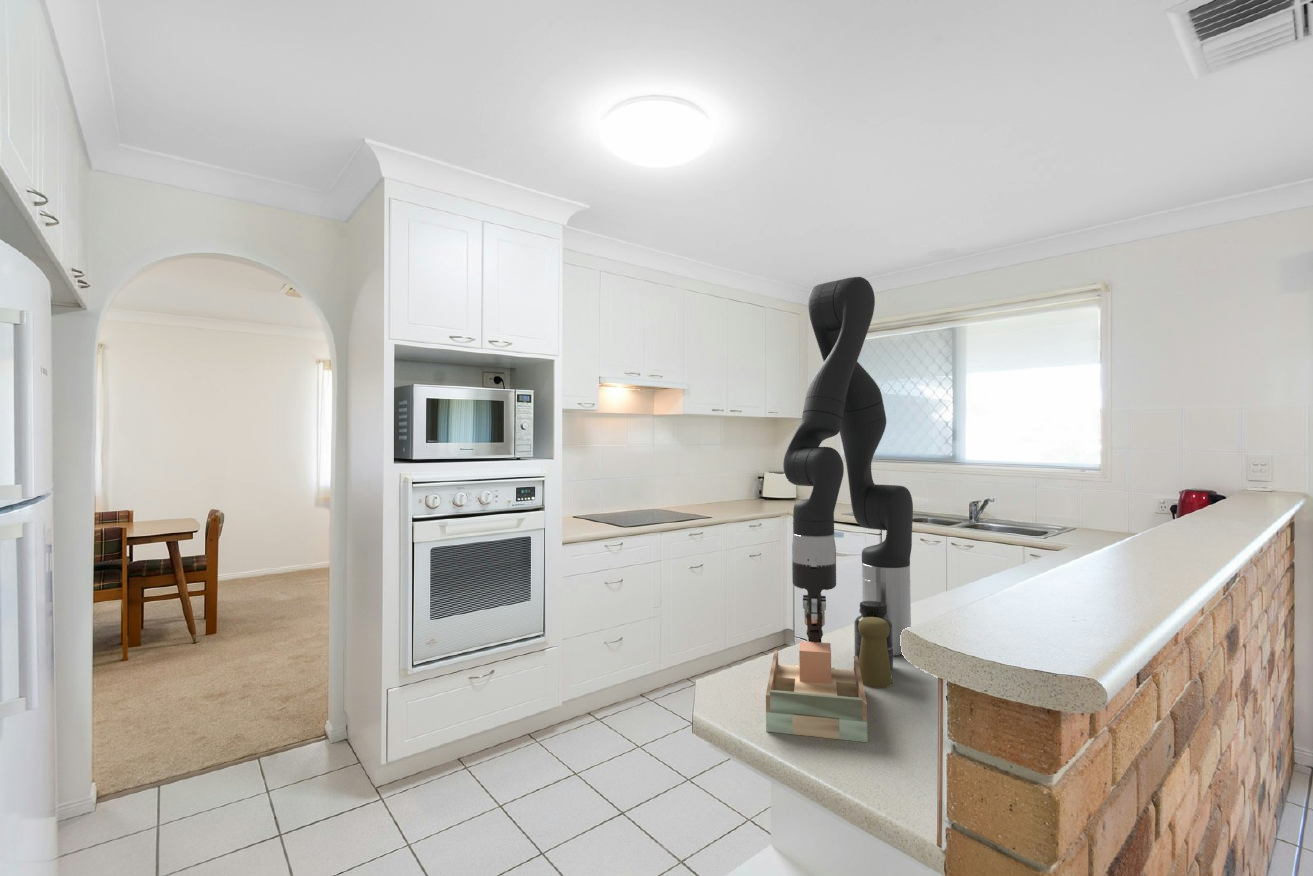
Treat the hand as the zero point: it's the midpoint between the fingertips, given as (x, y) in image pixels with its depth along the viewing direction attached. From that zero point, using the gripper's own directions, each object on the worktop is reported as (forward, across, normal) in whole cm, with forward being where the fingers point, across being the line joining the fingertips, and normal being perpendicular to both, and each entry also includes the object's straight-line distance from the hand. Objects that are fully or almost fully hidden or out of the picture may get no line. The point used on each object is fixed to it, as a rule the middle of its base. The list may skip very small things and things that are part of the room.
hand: (815, 657), depth 109 cm
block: (+1, +6, 0) cm, 6 cm away
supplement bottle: (+4, -9, +11) cm, 14 cm away
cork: (+4, -2, +10) cm, 11 cm away
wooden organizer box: (+4, +11, 0) cm, 12 cm away
